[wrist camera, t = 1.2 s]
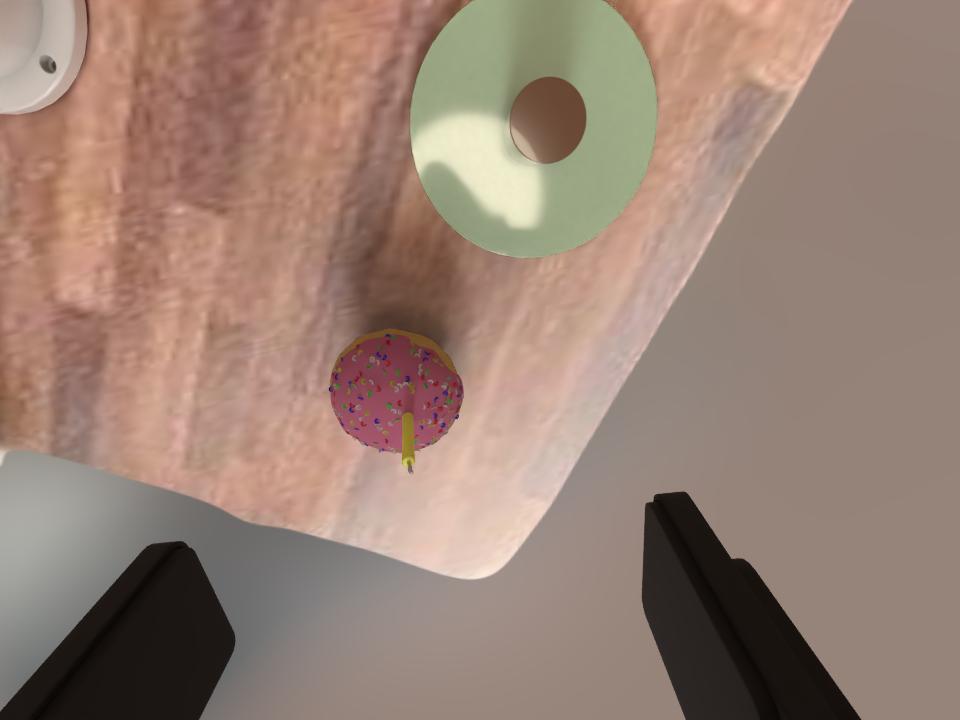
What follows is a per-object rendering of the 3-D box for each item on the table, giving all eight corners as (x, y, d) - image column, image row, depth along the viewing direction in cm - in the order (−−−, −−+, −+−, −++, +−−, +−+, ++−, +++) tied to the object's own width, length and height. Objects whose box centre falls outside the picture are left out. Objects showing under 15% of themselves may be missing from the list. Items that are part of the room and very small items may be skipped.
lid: (362, 133, 27) (325, 119, 20) (541, -86, 23) (566, -189, 17) (523, 299, 31) (535, 331, 25) (698, 136, 27) (769, 123, 21)
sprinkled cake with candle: (477, 329, 32) (476, 411, 21) (448, 427, 35) (434, 544, 24) (359, 297, 31) (293, 365, 20) (340, 401, 34) (273, 509, 23)
